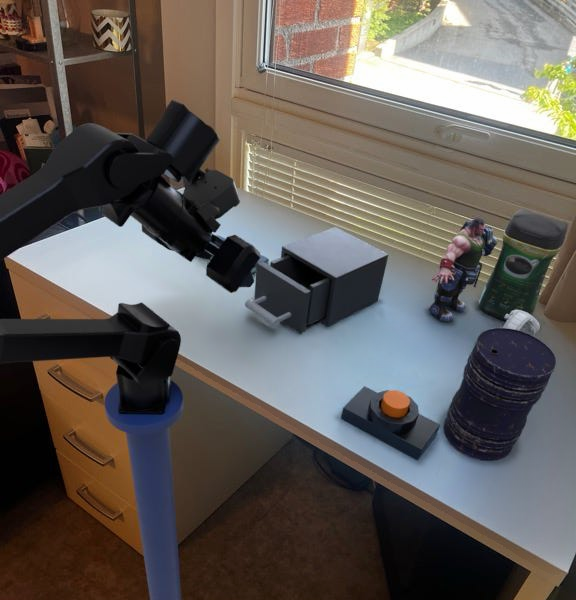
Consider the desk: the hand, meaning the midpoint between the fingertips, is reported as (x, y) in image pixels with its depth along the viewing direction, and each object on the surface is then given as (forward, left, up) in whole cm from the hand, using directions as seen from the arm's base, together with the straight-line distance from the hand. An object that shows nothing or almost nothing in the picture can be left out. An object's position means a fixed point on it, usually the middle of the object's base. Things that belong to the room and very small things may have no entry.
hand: (230, 269), depth 79 cm
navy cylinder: (+35, -19, -14) cm, 42 cm away
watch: (+43, -5, -14) cm, 45 cm away
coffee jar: (+51, +13, -14) cm, 54 cm away
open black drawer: (+11, +9, -13) cm, 19 cm away
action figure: (+40, +12, -14) cm, 44 cm away
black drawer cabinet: (+18, +15, -13) cm, 27 cm away
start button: (+22, -18, -10) cm, 30 cm away
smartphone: (0, +28, -14) cm, 31 cm away
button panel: (+22, -18, -13) cm, 32 cm away
